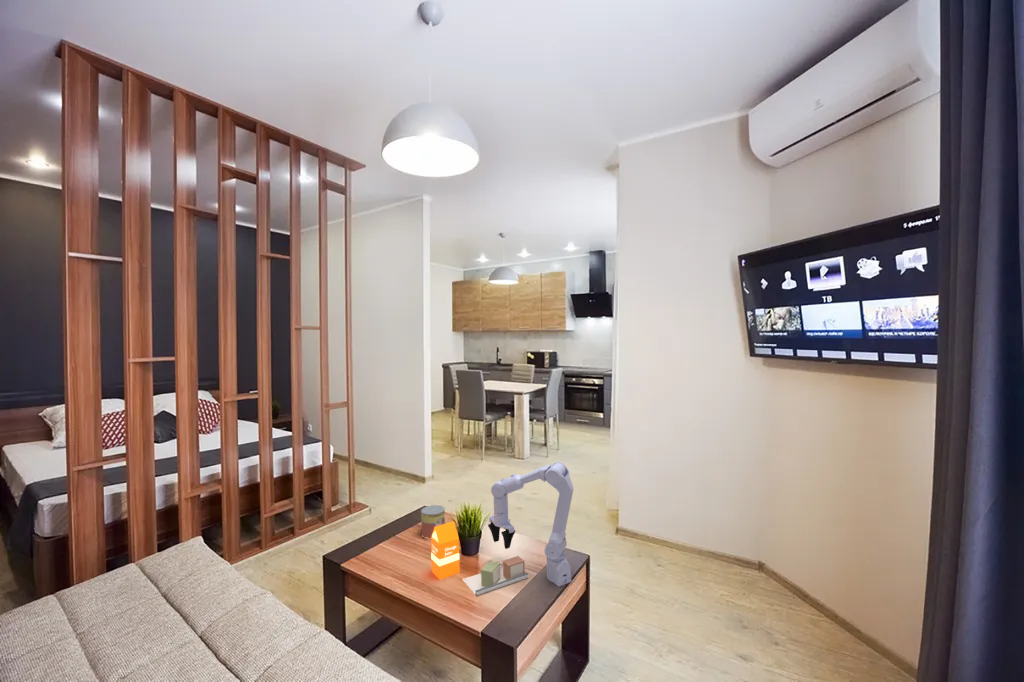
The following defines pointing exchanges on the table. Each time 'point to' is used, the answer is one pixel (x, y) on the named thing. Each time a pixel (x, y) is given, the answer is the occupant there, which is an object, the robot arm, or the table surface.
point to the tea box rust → (513, 567)
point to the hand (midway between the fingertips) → (501, 544)
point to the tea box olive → (490, 574)
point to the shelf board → (477, 589)
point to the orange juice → (445, 551)
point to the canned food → (432, 519)
